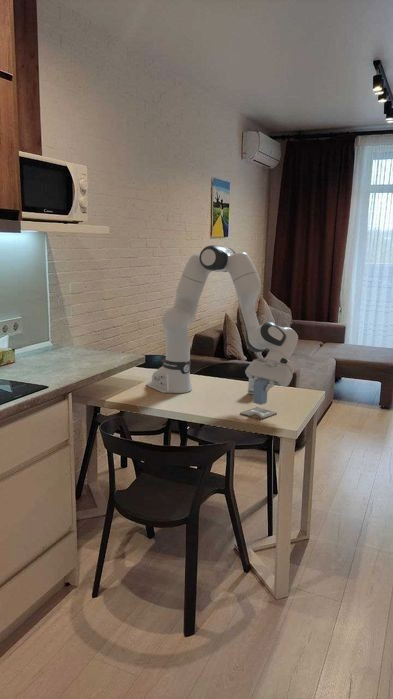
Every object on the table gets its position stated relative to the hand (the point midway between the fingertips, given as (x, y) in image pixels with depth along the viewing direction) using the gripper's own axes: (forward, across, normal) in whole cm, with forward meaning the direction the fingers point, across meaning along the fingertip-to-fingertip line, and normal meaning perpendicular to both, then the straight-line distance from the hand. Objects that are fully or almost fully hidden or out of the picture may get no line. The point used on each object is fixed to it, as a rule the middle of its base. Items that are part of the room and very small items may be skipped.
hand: (259, 389), depth 215 cm
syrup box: (-10, -19, +25) cm, 33 cm away
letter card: (+7, 0, +8) cm, 11 cm away
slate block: (+4, 0, +5) cm, 6 cm away
